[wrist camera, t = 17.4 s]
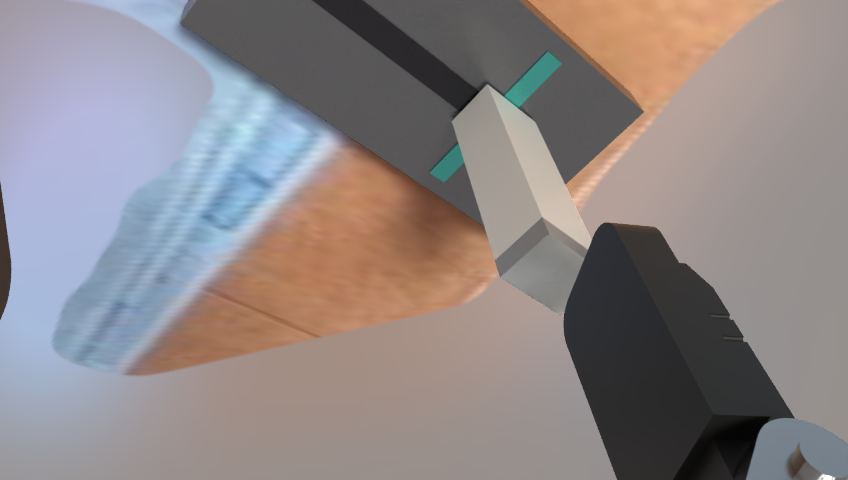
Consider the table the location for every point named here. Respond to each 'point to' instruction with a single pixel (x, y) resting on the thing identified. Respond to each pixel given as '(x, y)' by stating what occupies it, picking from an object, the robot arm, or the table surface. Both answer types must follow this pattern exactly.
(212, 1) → the console
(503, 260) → the tall gray block
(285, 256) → the table surface
